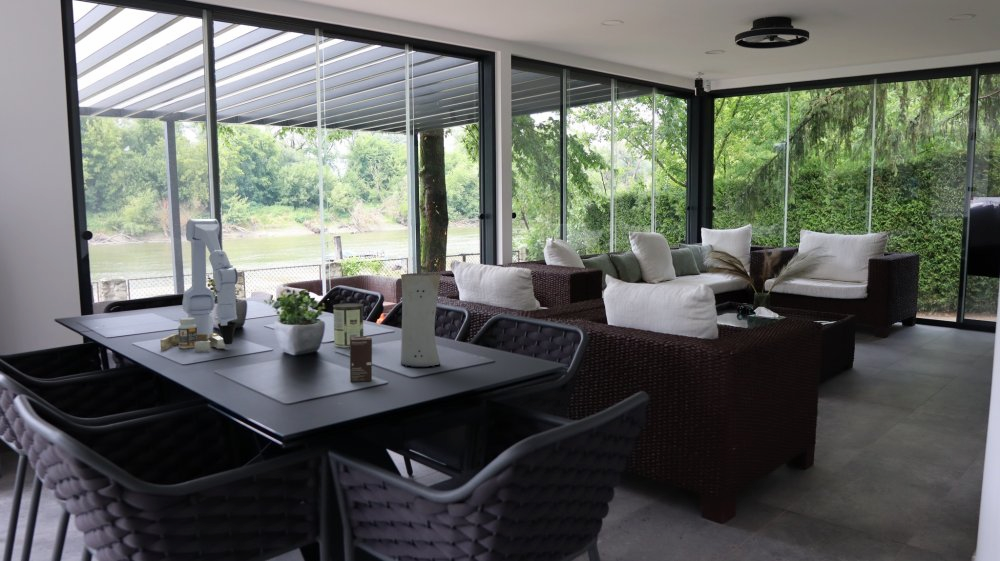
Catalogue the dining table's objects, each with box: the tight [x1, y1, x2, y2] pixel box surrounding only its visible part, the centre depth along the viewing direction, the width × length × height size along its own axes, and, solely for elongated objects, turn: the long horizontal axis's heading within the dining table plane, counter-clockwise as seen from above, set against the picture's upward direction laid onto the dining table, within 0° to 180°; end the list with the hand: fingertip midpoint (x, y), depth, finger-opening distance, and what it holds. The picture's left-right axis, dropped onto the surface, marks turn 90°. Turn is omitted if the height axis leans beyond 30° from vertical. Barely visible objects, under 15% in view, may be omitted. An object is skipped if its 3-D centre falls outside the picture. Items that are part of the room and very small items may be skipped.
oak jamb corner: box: [160, 333, 209, 351], centre depth 248 cm, size 11×12×4 cm
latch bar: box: [208, 333, 226, 349], centre depth 248 cm, size 10×3×3 cm, turn 36°
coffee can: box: [332, 302, 364, 349], centre depth 253 cm, size 10×10×14 cm
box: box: [349, 336, 373, 383], centre depth 202 cm, size 6×4×12 cm
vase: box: [400, 272, 442, 368], centre depth 223 cm, size 13×14×28 cm
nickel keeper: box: [194, 340, 212, 353], centre depth 242 cm, size 4×5×3 cm
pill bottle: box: [177, 317, 197, 350], centre depth 247 cm, size 6×6×10 cm
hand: (228, 343), depth 245 cm, fingers closed, pressing on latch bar
